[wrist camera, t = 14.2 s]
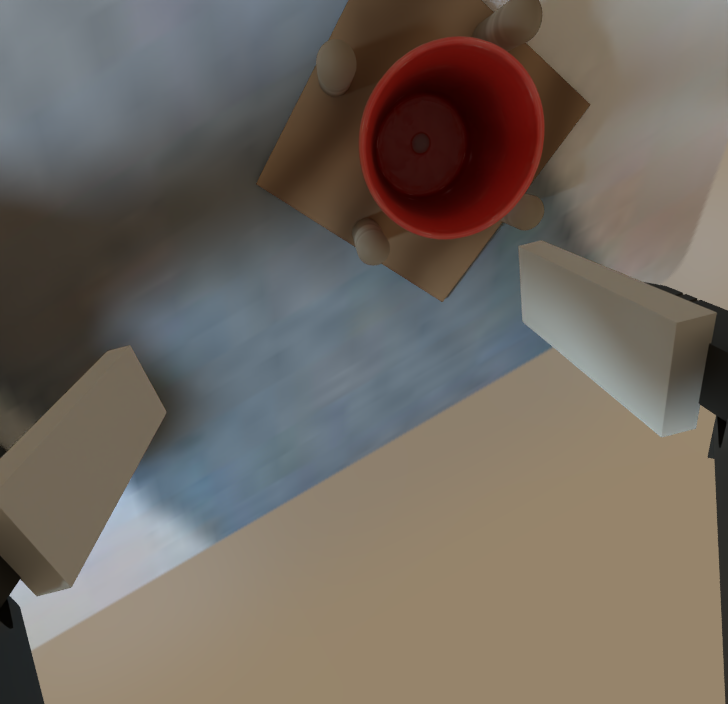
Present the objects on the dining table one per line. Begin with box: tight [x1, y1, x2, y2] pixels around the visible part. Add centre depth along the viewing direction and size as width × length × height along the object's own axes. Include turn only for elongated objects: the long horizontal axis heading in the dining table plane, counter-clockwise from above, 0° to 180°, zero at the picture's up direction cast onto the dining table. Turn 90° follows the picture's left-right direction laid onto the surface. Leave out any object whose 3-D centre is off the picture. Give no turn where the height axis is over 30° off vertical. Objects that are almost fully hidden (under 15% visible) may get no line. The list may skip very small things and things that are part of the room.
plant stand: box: [256, 0, 590, 302], centre depth 30 cm, size 19×19×7 cm
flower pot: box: [359, 36, 544, 239], centre depth 28 cm, size 11×11×10 cm
